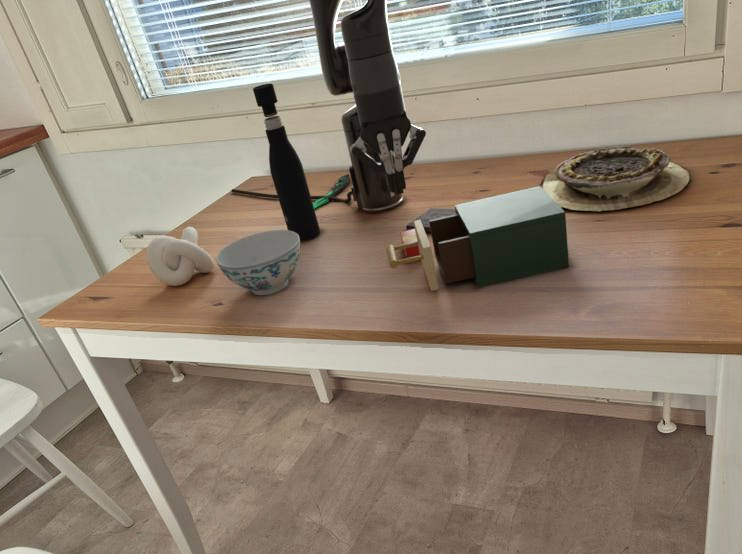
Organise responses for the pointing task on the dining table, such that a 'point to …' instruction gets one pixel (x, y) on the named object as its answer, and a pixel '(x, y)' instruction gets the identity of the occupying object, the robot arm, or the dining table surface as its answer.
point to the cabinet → (515, 235)
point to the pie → (614, 179)
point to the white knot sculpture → (178, 257)
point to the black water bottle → (287, 170)
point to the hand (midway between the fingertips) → (398, 192)
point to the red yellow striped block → (408, 238)
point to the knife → (334, 190)
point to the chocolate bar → (431, 217)
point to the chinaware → (261, 260)
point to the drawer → (440, 250)
